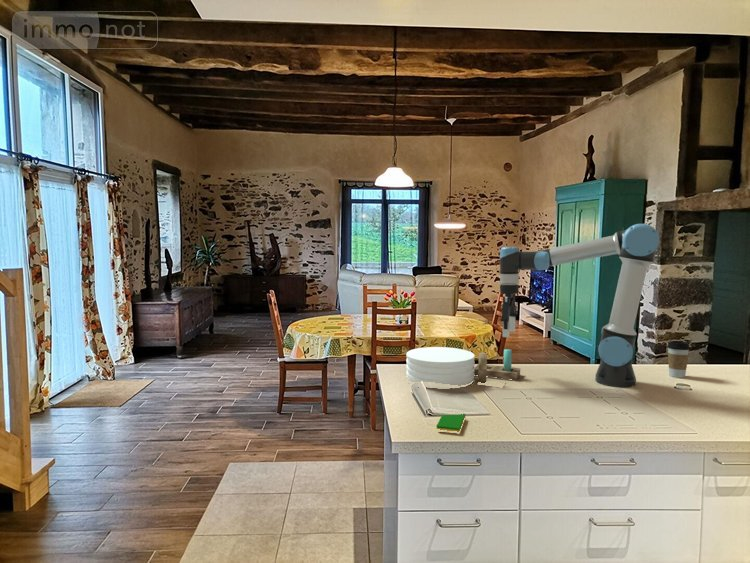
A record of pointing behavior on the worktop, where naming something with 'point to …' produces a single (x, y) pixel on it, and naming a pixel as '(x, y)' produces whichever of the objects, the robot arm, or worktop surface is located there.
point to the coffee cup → (678, 358)
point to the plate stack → (440, 365)
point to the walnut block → (500, 372)
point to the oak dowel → (482, 367)
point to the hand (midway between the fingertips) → (509, 334)
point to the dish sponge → (450, 422)
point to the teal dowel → (507, 359)
